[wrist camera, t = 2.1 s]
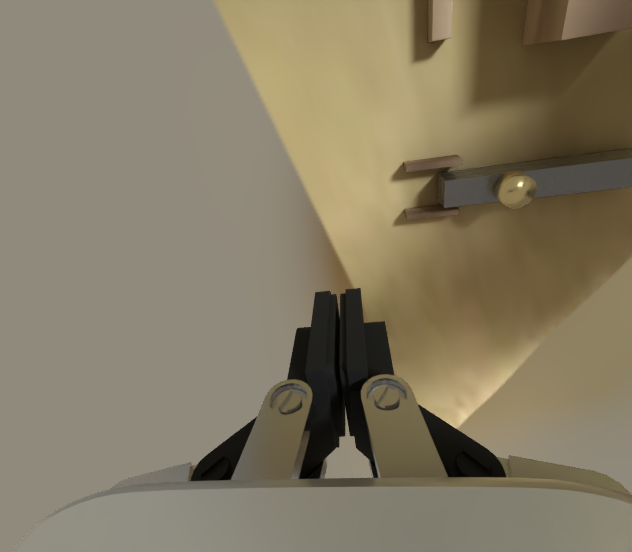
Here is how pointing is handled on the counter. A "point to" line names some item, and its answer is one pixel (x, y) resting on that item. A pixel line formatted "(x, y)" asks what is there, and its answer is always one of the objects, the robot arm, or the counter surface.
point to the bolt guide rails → (439, 20)
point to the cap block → (574, 19)
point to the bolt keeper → (425, 165)
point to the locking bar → (536, 179)
